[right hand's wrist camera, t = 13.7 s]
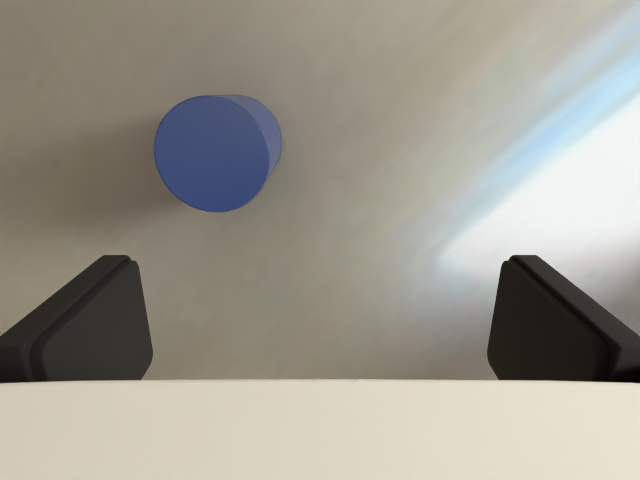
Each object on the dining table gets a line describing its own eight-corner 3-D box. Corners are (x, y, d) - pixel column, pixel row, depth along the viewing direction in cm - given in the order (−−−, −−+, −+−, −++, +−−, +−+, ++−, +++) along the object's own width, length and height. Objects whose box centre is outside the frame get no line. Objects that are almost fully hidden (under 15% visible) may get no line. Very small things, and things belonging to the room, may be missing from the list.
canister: (296, 120, 18) (289, 130, 13) (260, 198, 19) (242, 230, 15) (213, 78, 17) (176, 73, 13) (181, 161, 18) (137, 182, 14)
